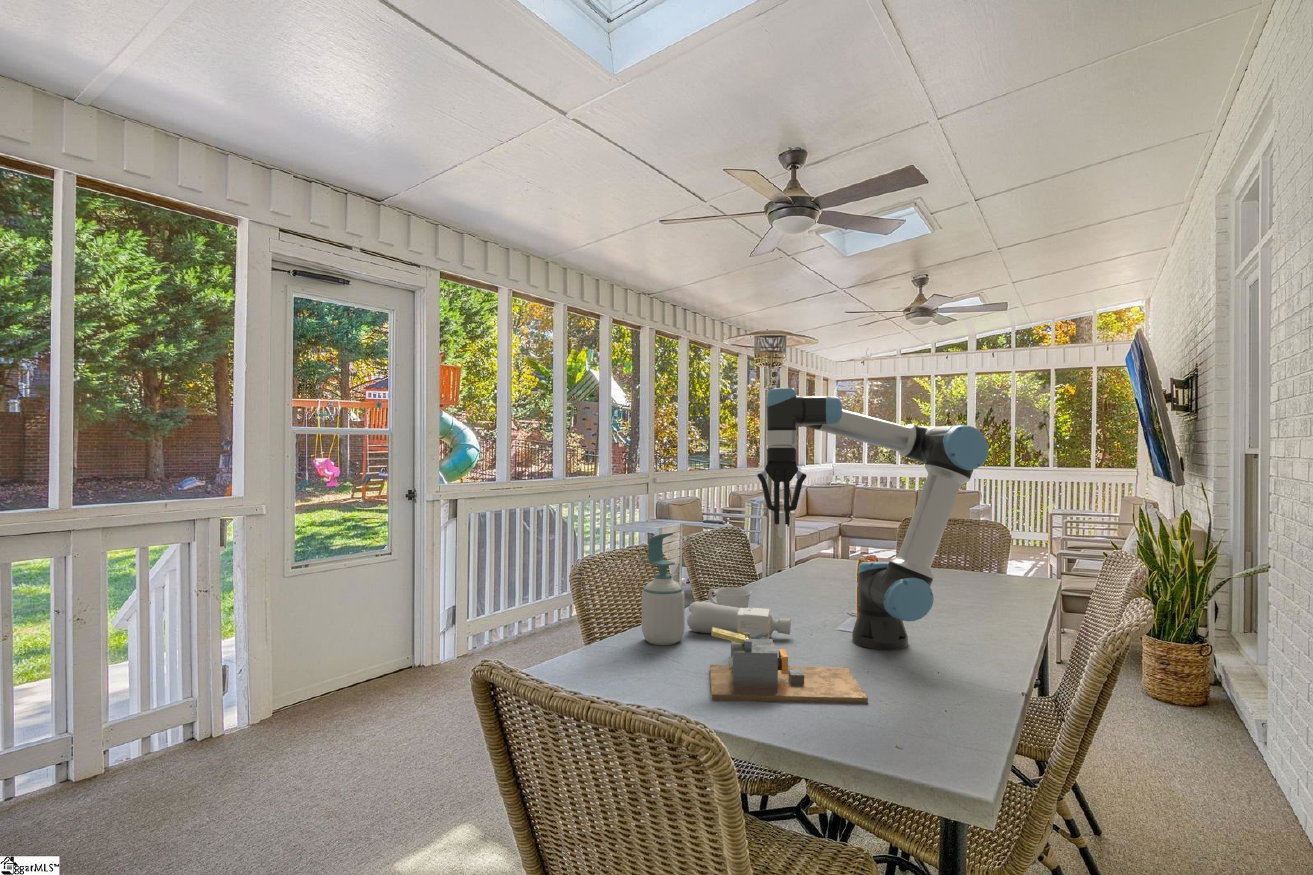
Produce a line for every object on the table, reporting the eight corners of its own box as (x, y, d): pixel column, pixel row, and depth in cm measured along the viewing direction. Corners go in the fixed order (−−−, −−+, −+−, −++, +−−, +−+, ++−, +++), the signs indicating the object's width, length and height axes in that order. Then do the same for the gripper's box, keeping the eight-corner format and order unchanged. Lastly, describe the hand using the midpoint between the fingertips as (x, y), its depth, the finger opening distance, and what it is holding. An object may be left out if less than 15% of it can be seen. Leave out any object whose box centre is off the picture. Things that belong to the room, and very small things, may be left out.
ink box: (768, 660, 175) (768, 615, 175) (736, 658, 176) (736, 614, 177) (770, 650, 183) (769, 608, 183) (739, 648, 185) (738, 606, 185)
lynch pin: (784, 666, 160) (784, 649, 160) (788, 675, 154) (788, 657, 154) (728, 665, 160) (728, 648, 160) (729, 674, 154) (729, 655, 154)
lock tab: (748, 640, 159) (749, 635, 159) (749, 646, 155) (750, 641, 155) (711, 631, 160) (712, 626, 160) (711, 636, 156) (712, 631, 156)
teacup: (718, 614, 222) (718, 584, 222) (758, 621, 214) (758, 590, 214) (699, 622, 213) (699, 590, 213) (740, 629, 204) (740, 597, 204)
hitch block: (847, 672, 166) (847, 627, 166) (867, 703, 146) (867, 651, 146) (710, 669, 168) (709, 625, 168) (711, 700, 148) (711, 649, 148)
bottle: (684, 625, 197) (787, 637, 188) (689, 596, 202) (790, 606, 193) (690, 635, 204) (789, 647, 195) (694, 607, 209) (792, 617, 200)
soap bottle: (661, 650, 184) (661, 536, 184) (632, 640, 193) (632, 532, 193) (693, 641, 192) (693, 533, 192) (664, 632, 201) (664, 529, 201)
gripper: (804, 446, 178) (804, 535, 178) (755, 446, 179) (755, 534, 179) (808, 447, 171) (809, 539, 171) (757, 447, 172) (758, 538, 171)
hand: (781, 536), depth 175 cm, fingers closed
